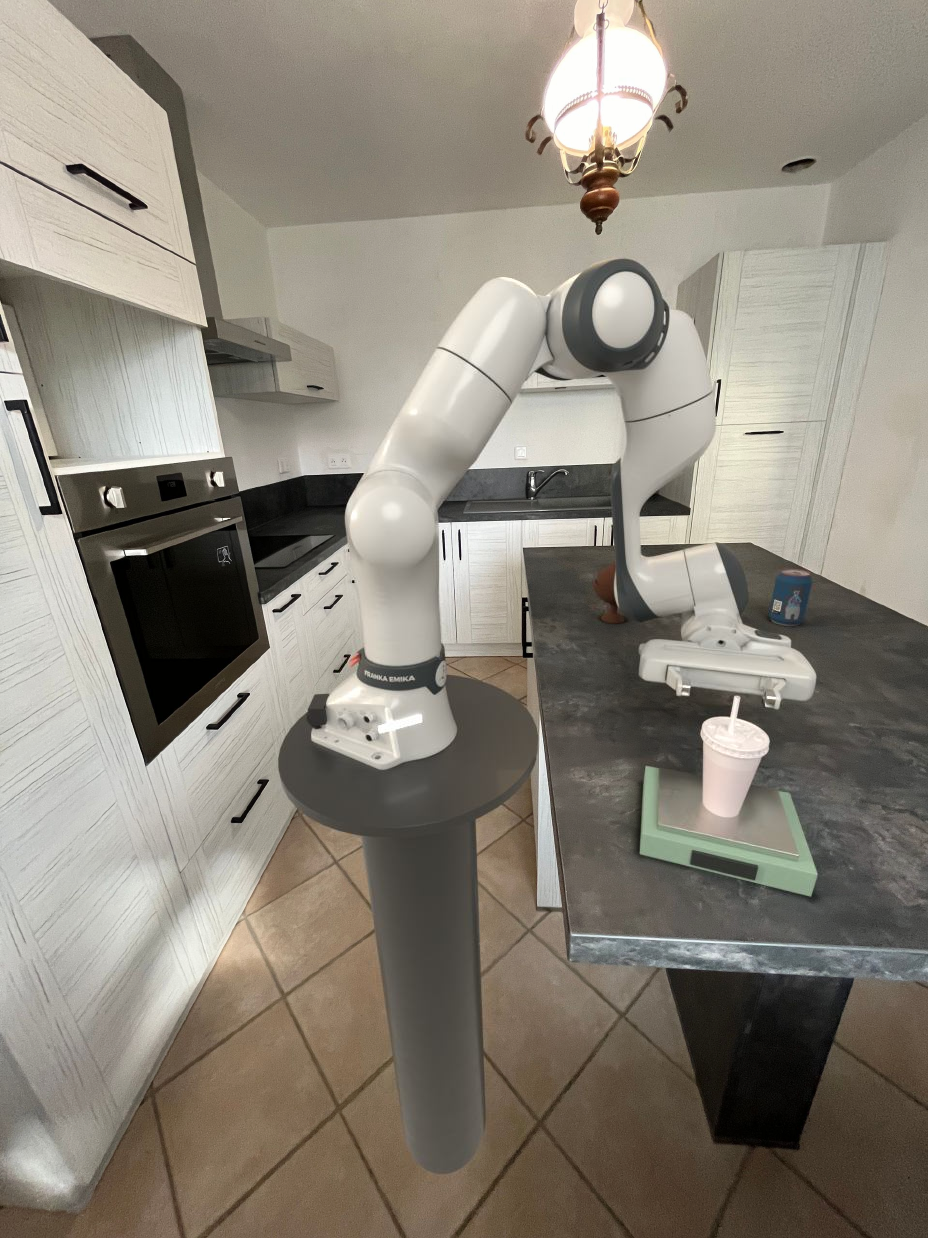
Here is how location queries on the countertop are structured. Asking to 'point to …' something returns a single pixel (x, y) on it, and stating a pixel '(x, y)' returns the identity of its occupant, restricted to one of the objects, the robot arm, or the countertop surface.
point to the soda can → (790, 597)
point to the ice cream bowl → (607, 593)
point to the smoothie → (730, 761)
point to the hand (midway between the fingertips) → (726, 697)
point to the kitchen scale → (727, 849)
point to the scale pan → (750, 829)
